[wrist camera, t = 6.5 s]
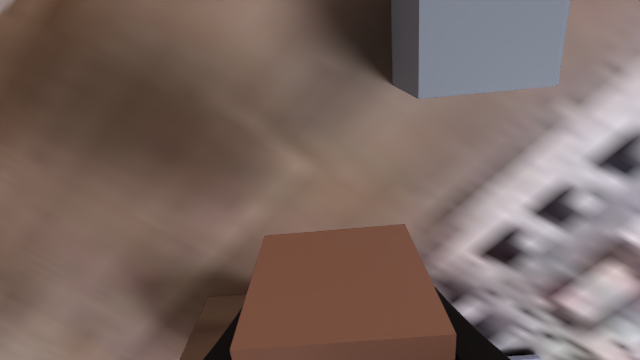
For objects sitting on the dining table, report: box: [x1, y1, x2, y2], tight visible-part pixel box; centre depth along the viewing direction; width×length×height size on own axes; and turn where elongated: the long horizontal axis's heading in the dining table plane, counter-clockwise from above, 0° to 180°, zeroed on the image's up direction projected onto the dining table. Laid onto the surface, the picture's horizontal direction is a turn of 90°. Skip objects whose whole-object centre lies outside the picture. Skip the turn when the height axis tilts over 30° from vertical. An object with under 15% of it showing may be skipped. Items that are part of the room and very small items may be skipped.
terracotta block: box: [230, 224, 457, 360], centre depth 11 cm, size 5×5×5 cm
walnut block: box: [180, 294, 247, 360], centre depth 20 cm, size 5×5×5 cm
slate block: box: [391, 0, 571, 99], centre depth 14 cm, size 5×5×5 cm
